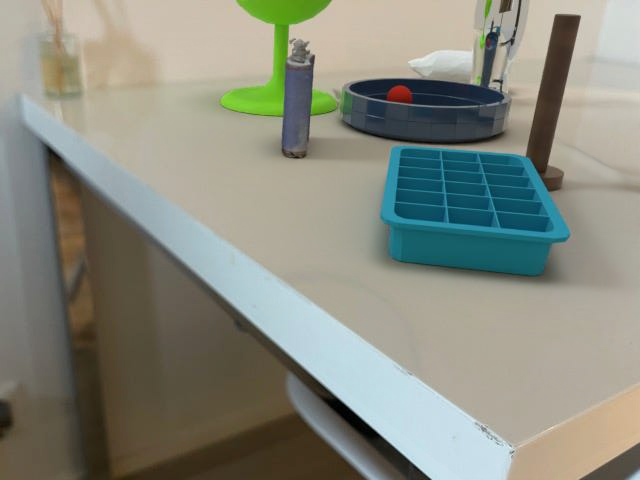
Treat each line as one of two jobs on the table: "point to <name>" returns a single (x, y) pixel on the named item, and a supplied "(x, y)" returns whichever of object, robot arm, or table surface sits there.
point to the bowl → (426, 110)
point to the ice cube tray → (469, 210)
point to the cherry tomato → (400, 95)
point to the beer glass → (496, 40)
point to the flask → (297, 99)
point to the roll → (444, 65)
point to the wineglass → (277, 58)
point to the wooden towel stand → (552, 98)
